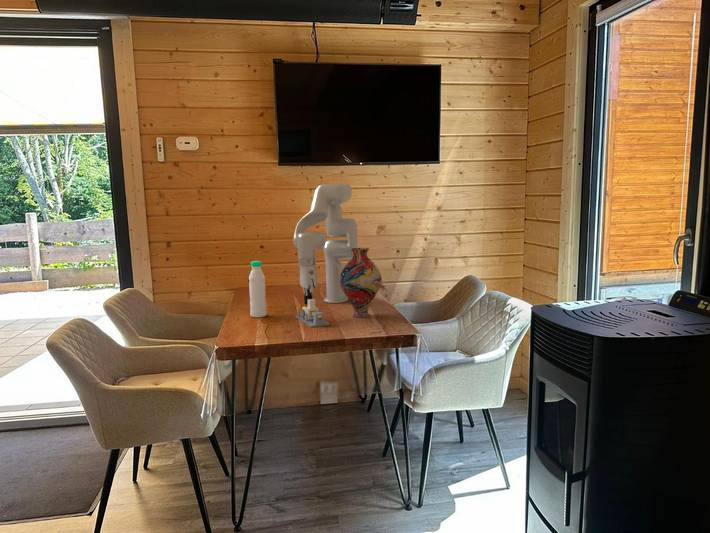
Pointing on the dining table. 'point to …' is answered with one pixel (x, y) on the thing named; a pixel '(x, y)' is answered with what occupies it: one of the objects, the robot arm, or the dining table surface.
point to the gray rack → (313, 322)
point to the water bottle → (257, 290)
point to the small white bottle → (310, 308)
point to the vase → (360, 281)
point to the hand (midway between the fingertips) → (308, 304)
